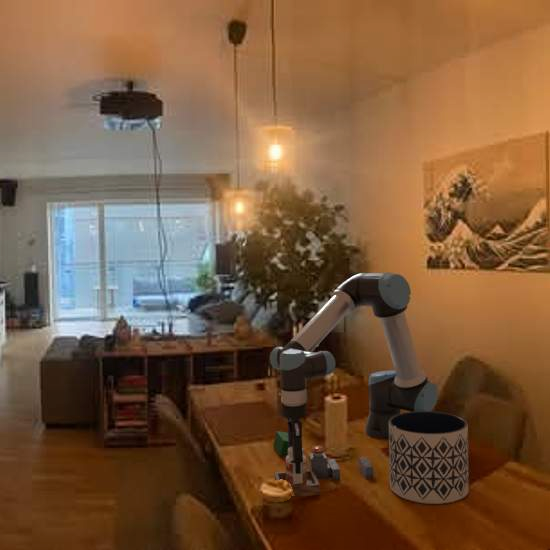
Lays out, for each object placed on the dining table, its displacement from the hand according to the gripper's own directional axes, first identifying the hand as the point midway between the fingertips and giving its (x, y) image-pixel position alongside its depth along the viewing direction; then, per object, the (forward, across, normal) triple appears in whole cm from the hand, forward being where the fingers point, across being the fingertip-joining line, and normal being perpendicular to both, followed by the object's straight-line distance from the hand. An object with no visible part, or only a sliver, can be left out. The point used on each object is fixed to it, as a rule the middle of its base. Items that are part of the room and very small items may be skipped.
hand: (296, 478), depth 191 cm
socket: (+3, -8, +15) cm, 17 cm away
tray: (+3, 0, 0) cm, 3 cm away
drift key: (+1, -8, +8) cm, 11 cm away
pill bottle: (+2, 0, 0) cm, 2 cm away
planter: (+3, +8, +38) cm, 39 cm away
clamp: (+3, -33, +1) cm, 33 cm away
